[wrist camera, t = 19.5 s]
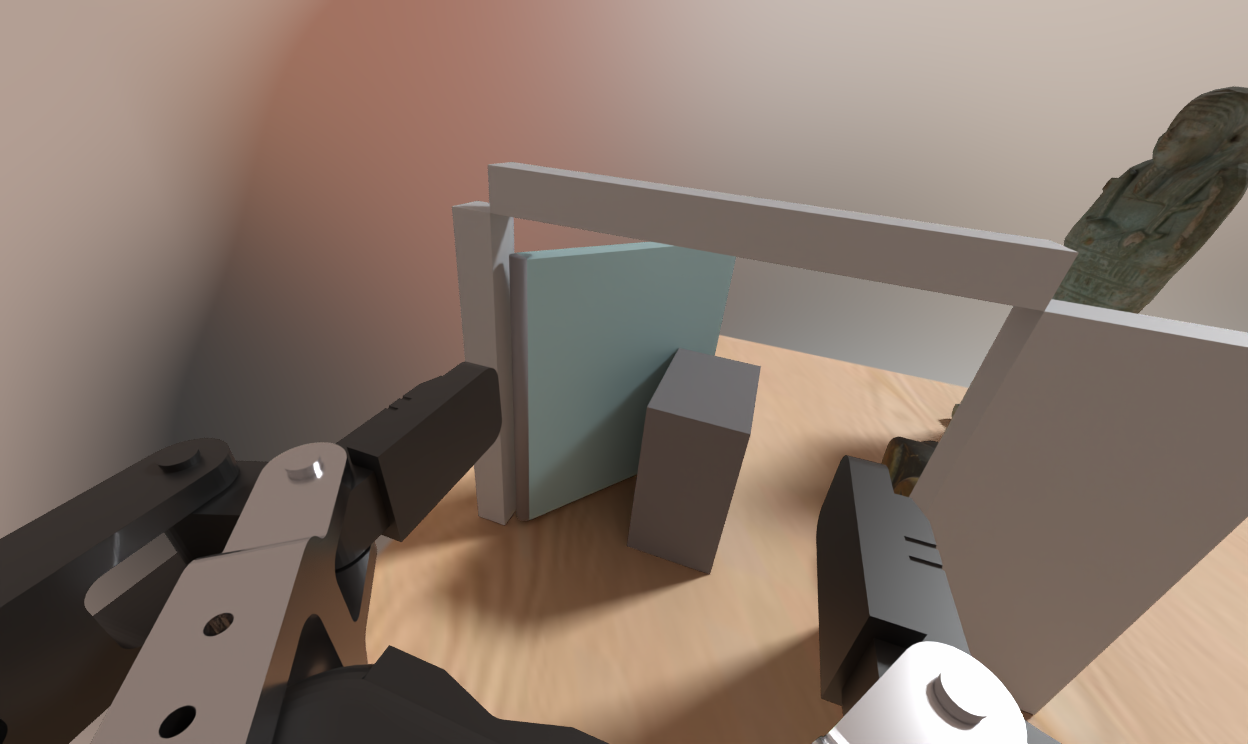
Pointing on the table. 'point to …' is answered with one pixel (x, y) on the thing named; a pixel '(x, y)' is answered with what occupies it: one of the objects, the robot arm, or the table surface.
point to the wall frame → (984, 421)
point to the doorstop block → (692, 457)
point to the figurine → (1161, 207)
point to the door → (599, 357)
